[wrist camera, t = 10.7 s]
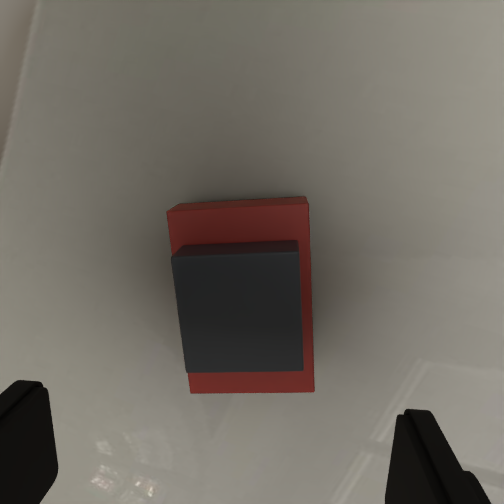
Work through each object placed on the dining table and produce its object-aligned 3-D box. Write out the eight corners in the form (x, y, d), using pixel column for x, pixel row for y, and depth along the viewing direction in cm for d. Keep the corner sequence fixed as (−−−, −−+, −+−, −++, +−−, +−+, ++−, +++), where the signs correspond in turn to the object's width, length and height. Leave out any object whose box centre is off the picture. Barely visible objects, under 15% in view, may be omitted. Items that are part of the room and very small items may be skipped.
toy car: (151, 219, 15) (311, 211, 14) (183, 200, 19) (305, 193, 19) (180, 419, 17) (317, 419, 17) (202, 360, 22) (310, 358, 21)
